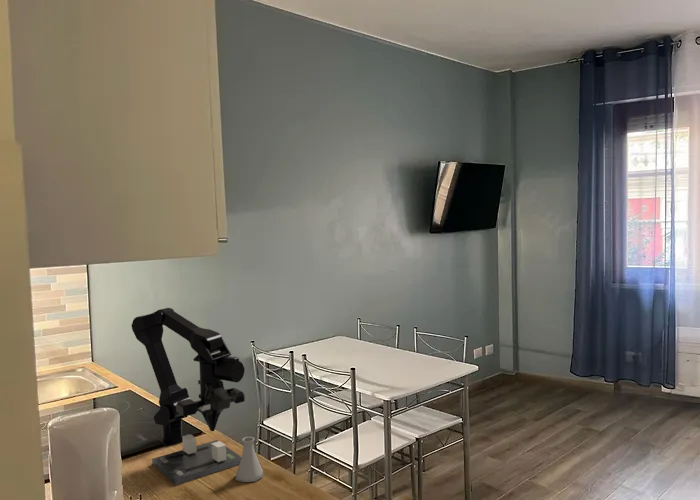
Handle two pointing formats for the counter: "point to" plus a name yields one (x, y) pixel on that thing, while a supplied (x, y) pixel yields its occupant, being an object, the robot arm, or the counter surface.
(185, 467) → the dark grey flat plate
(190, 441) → the block
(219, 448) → the block
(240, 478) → the flask
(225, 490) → the counter surface
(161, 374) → the robot arm
